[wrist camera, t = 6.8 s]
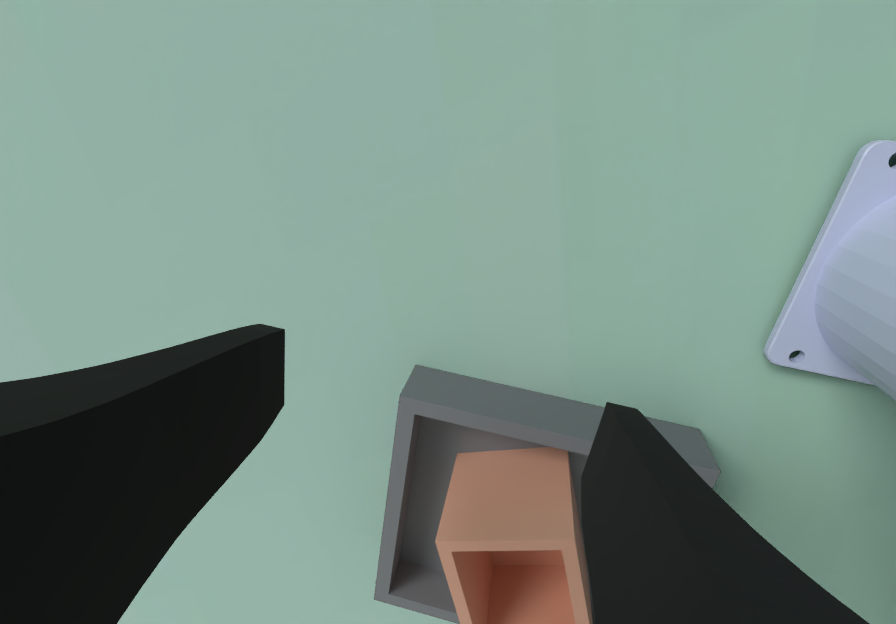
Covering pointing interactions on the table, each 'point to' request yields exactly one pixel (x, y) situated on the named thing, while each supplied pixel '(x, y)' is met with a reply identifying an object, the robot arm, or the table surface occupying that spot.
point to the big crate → (476, 430)
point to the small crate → (514, 539)
